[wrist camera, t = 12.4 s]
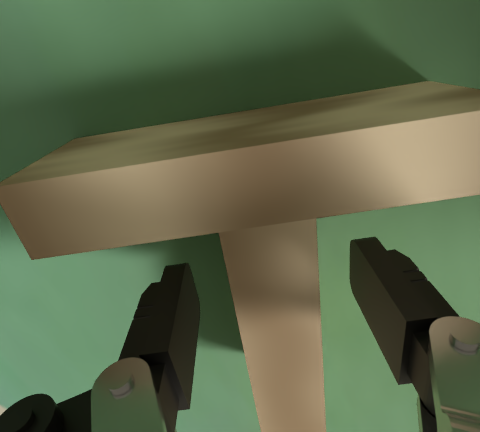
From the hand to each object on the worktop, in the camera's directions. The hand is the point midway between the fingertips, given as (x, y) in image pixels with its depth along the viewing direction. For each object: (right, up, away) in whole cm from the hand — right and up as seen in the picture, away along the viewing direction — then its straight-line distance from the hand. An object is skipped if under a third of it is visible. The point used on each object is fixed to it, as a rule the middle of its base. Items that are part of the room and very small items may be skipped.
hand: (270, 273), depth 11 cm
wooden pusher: (0, 0, +3) cm, 3 cm away
